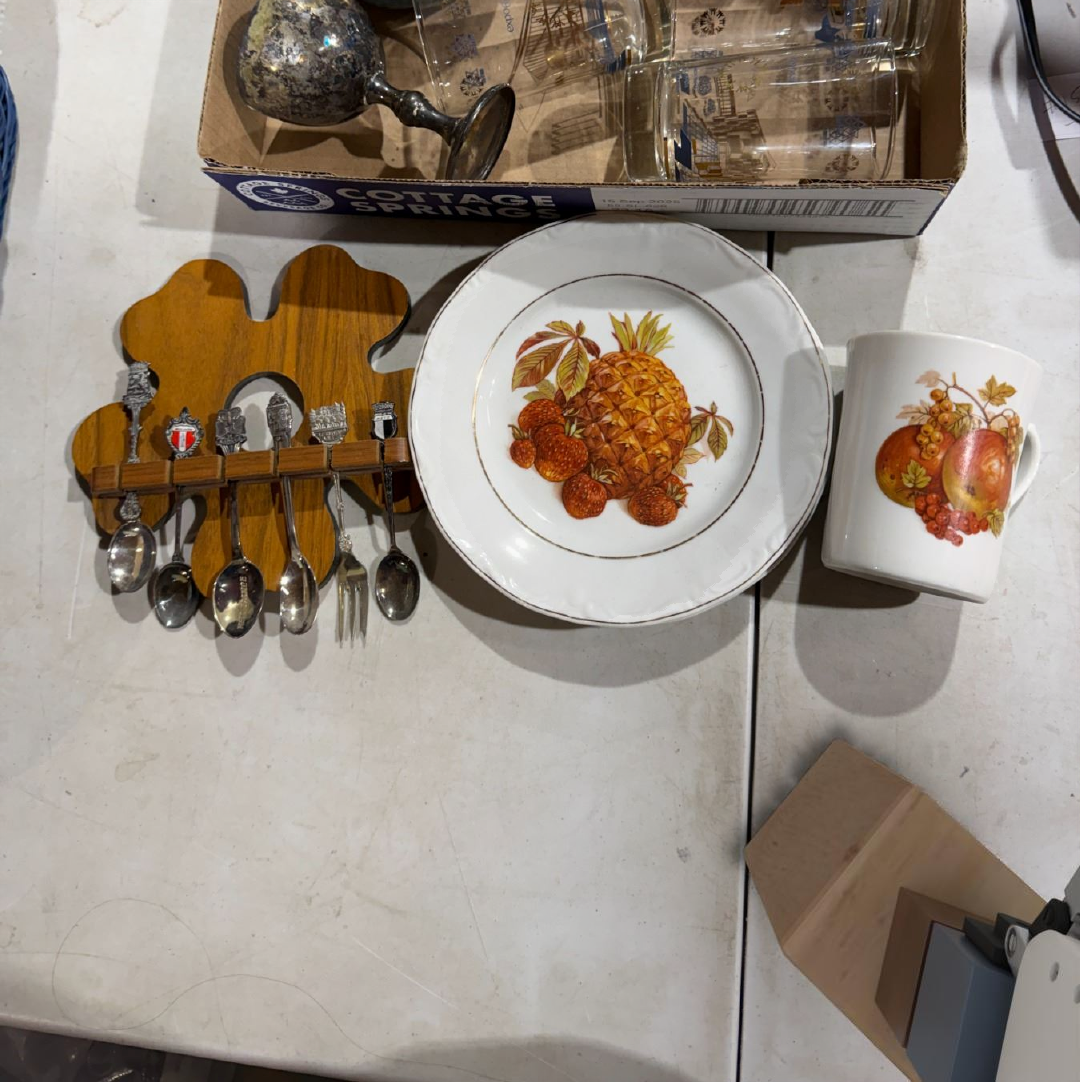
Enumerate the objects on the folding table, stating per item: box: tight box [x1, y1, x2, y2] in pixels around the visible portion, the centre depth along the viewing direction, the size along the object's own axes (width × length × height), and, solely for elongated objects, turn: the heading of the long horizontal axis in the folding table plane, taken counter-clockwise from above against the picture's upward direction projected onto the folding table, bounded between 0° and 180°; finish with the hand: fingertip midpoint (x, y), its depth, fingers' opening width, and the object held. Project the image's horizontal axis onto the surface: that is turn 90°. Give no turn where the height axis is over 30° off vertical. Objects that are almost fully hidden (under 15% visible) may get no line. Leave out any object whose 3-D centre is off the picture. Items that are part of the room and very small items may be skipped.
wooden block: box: [742, 738, 1048, 1082], centre depth 54 cm, size 10×10×20 cm
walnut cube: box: [875, 887, 995, 1049], centre depth 42 cm, size 5×5×5 cm
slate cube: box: [906, 923, 1016, 1082], centre depth 36 cm, size 5×5×5 cm
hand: (987, 1016), depth 38 cm, fingers closed on slate cube, 5 cm apart
